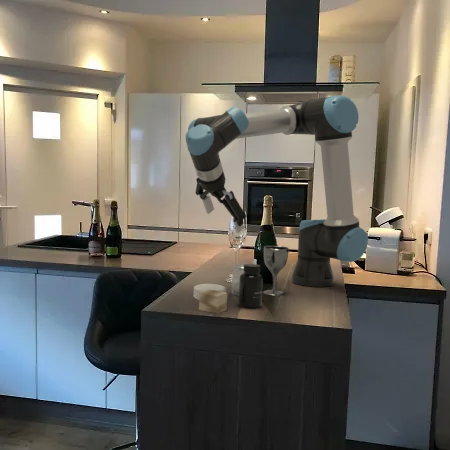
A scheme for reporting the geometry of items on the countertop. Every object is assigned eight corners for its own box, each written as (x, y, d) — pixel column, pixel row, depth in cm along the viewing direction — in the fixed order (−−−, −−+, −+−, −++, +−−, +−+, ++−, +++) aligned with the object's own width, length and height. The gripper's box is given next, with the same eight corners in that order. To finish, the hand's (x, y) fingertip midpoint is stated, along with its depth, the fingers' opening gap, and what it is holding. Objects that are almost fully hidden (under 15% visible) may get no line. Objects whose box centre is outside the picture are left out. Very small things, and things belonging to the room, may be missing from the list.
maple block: (226, 310, 138) (227, 292, 137) (217, 314, 134) (218, 296, 133) (208, 306, 141) (209, 289, 140) (199, 310, 137) (199, 292, 136)
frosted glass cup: (253, 292, 160) (255, 264, 160) (253, 297, 154) (254, 268, 153) (232, 290, 161) (233, 263, 160) (230, 295, 154) (232, 267, 153)
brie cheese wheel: (188, 295, 154) (189, 284, 153) (217, 293, 158) (218, 282, 157) (200, 303, 145) (200, 291, 144) (231, 301, 149) (231, 289, 148)
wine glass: (282, 290, 165) (284, 245, 163) (289, 295, 157) (291, 249, 156) (259, 290, 164) (261, 245, 162) (265, 295, 156) (267, 249, 154)
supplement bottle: (259, 309, 139) (262, 268, 138) (236, 307, 140) (238, 266, 139) (262, 303, 146) (264, 264, 145) (240, 301, 147) (242, 262, 146)
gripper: (173, 164, 147) (191, 210, 163) (231, 199, 133) (245, 246, 149) (191, 150, 150) (207, 197, 166) (250, 182, 136) (261, 230, 152)
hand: (225, 220), depth 157 cm, fingers open, 13 cm apart
